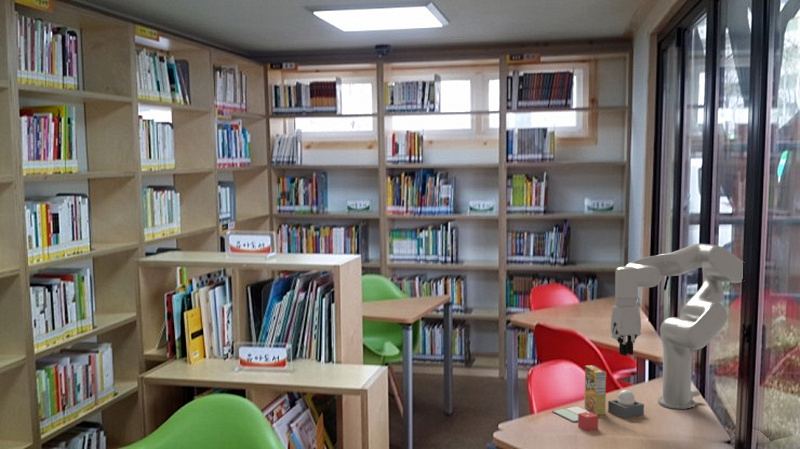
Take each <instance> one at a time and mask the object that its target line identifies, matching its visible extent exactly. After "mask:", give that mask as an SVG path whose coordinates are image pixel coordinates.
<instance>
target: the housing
mask: <svg viewBox="0 0 800 449" xmlns="http://www.w3.org/2000/svg"><path fill="white" fill-rule="evenodd" d="M607 406H608V407H607V408H608V409H607V410H608V411H607V412H609V413H610V414H613V415H615V416H618V417H620V418H621V419H625V420H626V419H631V418H635V417H639V416H644V415H645V404H644V403H642V402H640V401H637V400H634V405H631V406H627V407H625V406H622V405H620V404H618V398H617V399H612V400H608V404H607Z"/></svg>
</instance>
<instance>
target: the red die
mask: <svg viewBox="0 0 800 449" xmlns="http://www.w3.org/2000/svg"><path fill="white" fill-rule="evenodd" d="M598 416H599V415H596V414H594V413H592V412H591V411H589V412H584V413H579V414H578V422H577V428H580V429H582V430H584V431H586V432H588V431H589V432H591V431H594V430H598V429H599V418H598Z"/></svg>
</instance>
